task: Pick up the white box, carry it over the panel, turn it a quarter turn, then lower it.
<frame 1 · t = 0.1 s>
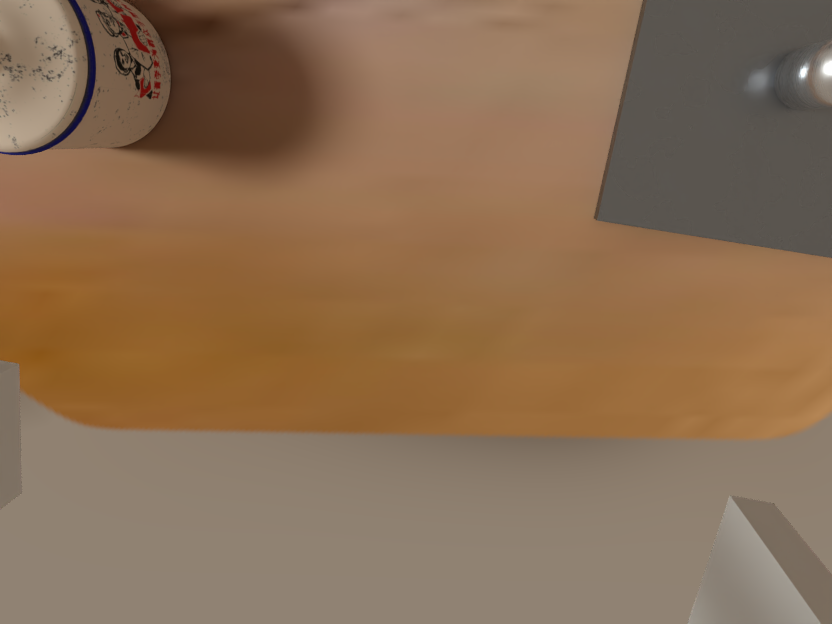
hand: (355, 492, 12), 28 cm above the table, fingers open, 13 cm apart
teacup with lid: (90, 51, 38), on the table
panel: (797, 79, 34), on the table
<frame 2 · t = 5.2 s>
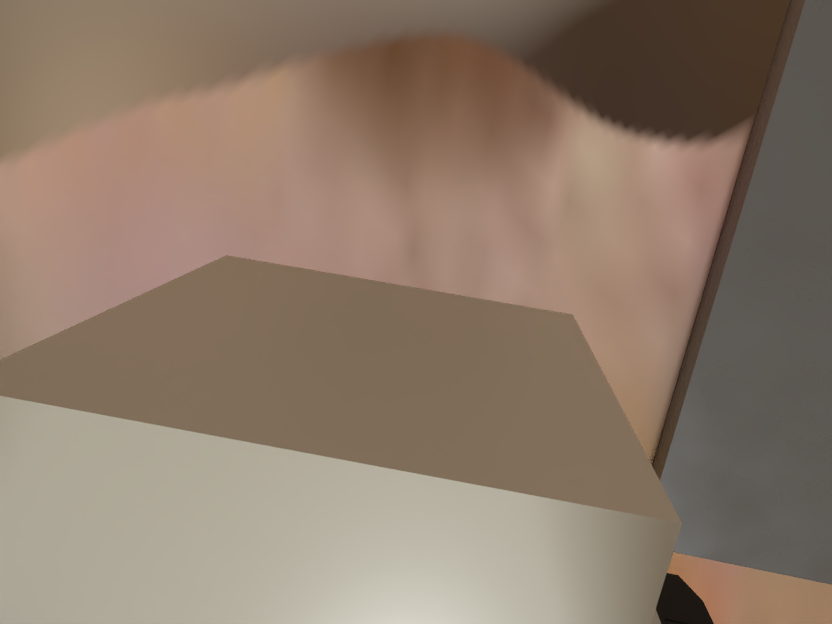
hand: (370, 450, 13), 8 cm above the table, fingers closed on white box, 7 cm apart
white box: (373, 441, 14), point 8 cm above the table, touching gripper
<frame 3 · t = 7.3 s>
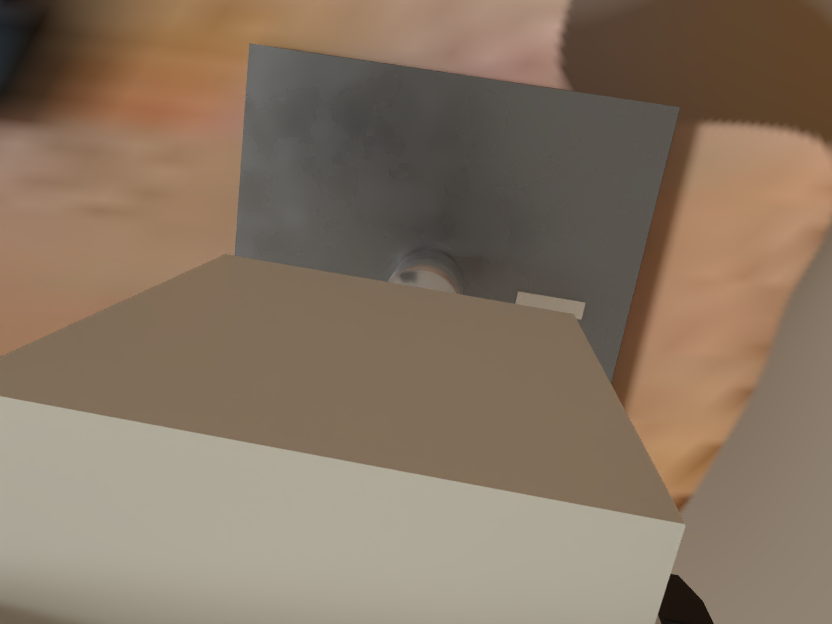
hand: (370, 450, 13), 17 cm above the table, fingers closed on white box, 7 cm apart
panel: (429, 279, 30), on the table
white box: (373, 441, 13), point 17 cm above the table, touching gripper
when the fingers open (3 cm above the table, at t = 9.9 s): white box drops 1 cm, resting on panel.
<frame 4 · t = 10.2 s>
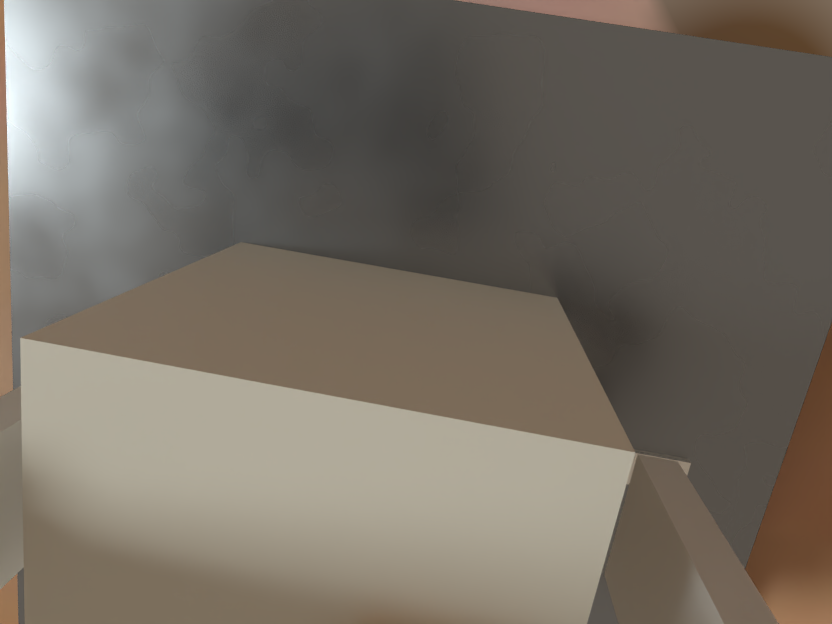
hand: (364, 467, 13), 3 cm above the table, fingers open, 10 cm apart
panel: (386, 401, 16), on the table
white box: (374, 415, 15), point 1 cm above the table, touching panel
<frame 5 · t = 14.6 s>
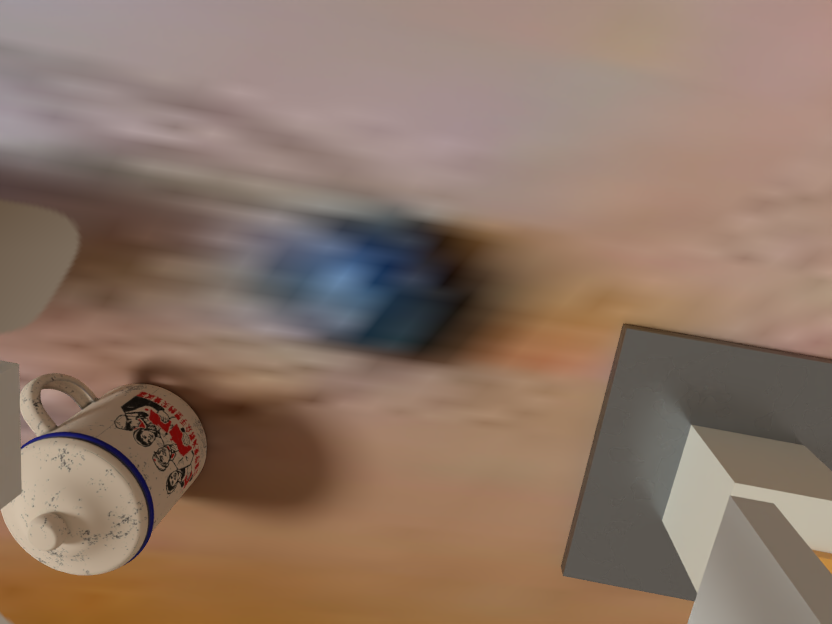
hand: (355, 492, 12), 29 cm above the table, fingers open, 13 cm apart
teacup with lid: (139, 420, 45), on the table
panel: (727, 477, 41), on the table
white box: (731, 483, 41), point 1 cm above the table, touching panel
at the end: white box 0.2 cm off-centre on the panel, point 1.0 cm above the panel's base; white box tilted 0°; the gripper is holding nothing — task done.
